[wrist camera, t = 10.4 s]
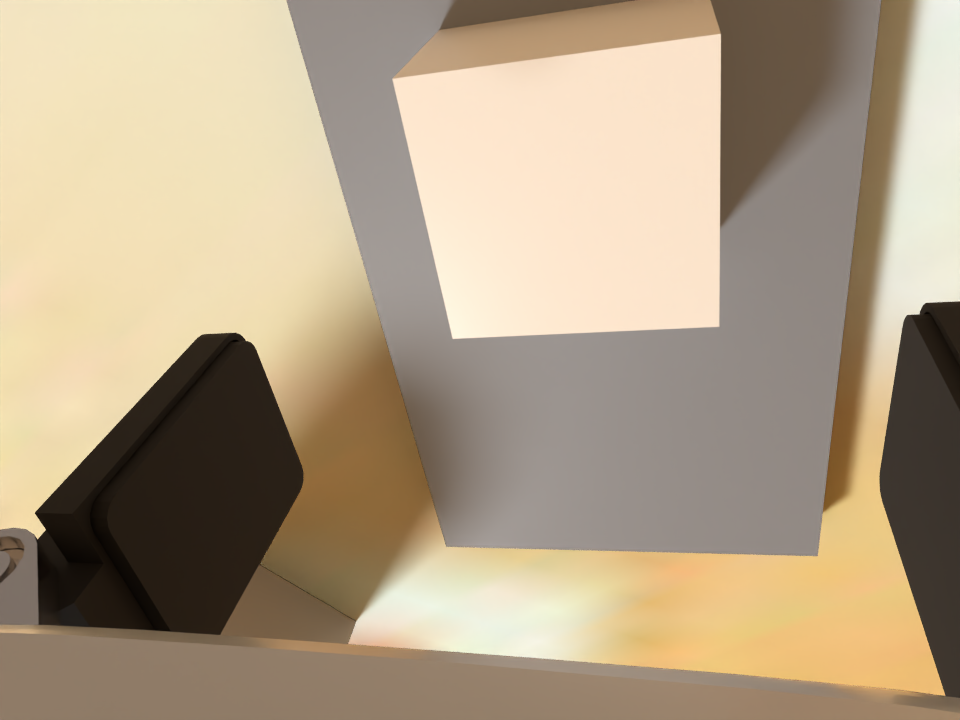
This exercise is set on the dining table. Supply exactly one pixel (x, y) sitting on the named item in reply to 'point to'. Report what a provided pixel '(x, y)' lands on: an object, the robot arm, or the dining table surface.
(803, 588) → the dining table surface
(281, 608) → the perfume bottle
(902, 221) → the dining table surface
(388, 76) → the post base
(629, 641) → the dining table surface
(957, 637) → the robot arm
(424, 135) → the cream square block
